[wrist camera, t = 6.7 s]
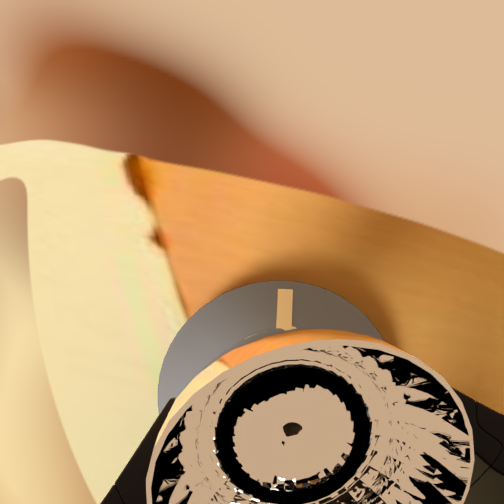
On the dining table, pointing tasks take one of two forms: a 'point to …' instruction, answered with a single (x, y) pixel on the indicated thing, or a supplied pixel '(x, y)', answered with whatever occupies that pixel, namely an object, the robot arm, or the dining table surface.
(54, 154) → the dining table surface
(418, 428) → the wineglass
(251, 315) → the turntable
